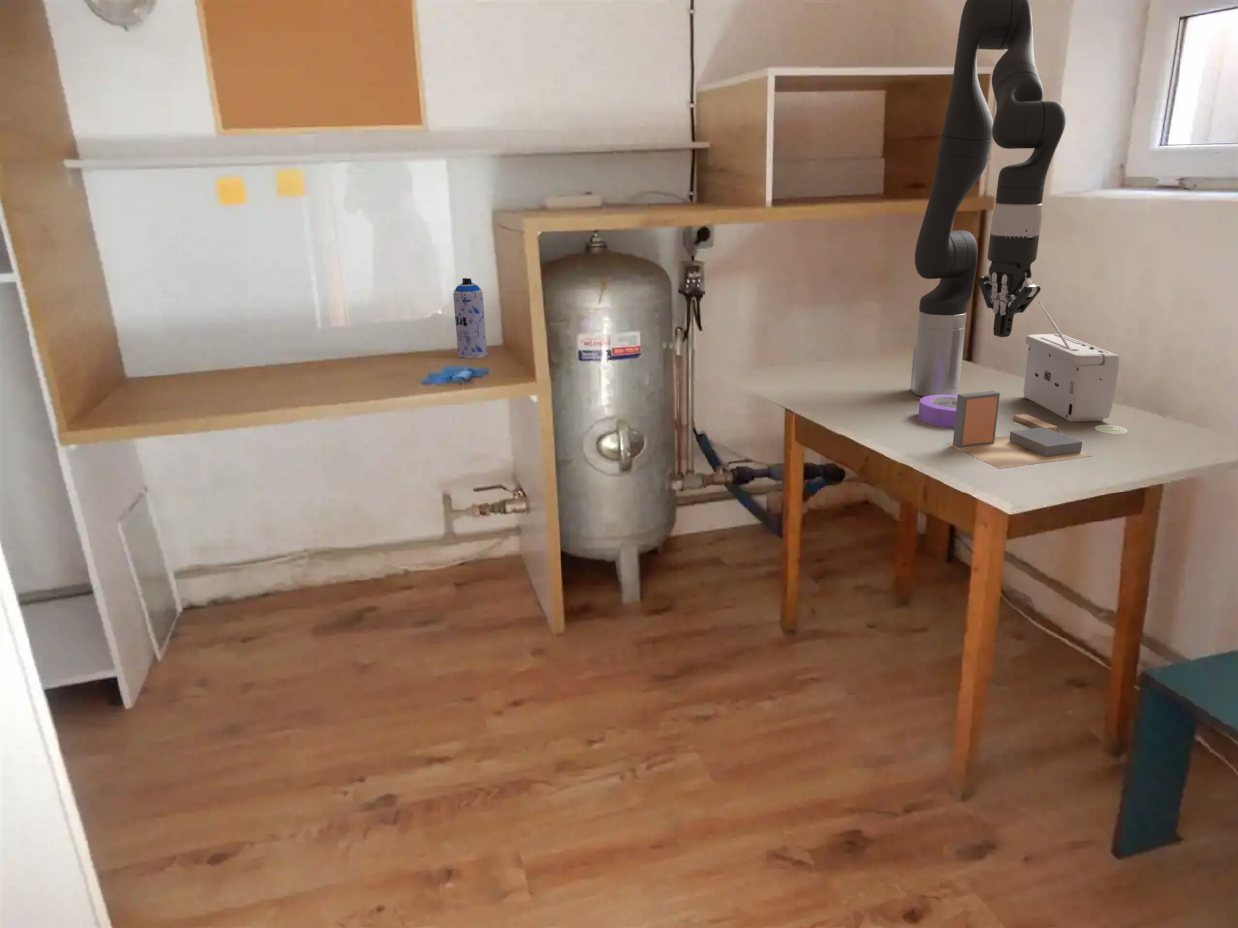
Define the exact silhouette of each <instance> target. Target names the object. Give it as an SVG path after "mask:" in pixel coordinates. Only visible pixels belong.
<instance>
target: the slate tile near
mask: <svg viewBox="0 0 1238 928" xmlns="http://www.w3.org/2000/svg"><path fill="white" fill-rule="evenodd" d="M1000 395H1001V393H1000V392H998V391H995V390H989V391H978V392H969V393H958V398H957V408H956V418H955V427H953V428H954V429H953V430H954V431H953V437H952V438H953V439H952V443H953V445H954V446H956V447H958V448H963V447H971V446H979V445H987V444H994V440H995V437H996V429H997V421H998V420H997V419H998V412H999V406H1000V405H999V404H1000Z"/></svg>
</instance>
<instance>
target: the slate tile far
mask: <svg viewBox="0 0 1238 928" xmlns="http://www.w3.org/2000/svg"><path fill="white" fill-rule="evenodd" d="M1009 436H1010V439H1009V441H1010V442H1012V443H1014V444H1017V445H1019V446H1021V447H1024V448H1026V449H1029V450H1031V451H1033V452H1036V453H1038V454H1040V455H1043V456H1045V457H1048V456H1055V455H1063V454H1071V453H1078V452H1082V447H1083V441H1081V440H1078V439H1077V438H1073V437H1071V436H1068V435H1065V434H1063V433H1060V432H1058V431H1057V432H1055V431H1053V430H1050V429H1048V428H1045V427H1042V428H1027V429H1020V430H1011V431H1010V432H1009Z"/></svg>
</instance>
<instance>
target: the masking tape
mask: <svg viewBox="0 0 1238 928" xmlns="http://www.w3.org/2000/svg"><path fill="white" fill-rule="evenodd" d="M957 398H958V395H930V396H926V397H923V396H922V397H921V398H920V400H919V406H918V414H917V415H918V416H917V418H918V419H919V420H920V421H922V422H924V423H927V424H930V425H934V426H938V427H946V428H955V418H956V408H957Z"/></svg>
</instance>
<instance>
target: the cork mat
mask: <svg viewBox="0 0 1238 928" xmlns="http://www.w3.org/2000/svg"><path fill="white" fill-rule="evenodd" d="M1009 439H1010V435H1003V436H995V440H994V444H987V445H979V446H971V447H963V448H958V447H956V446H954V445H953V442H948V443H946V445H948V446H951V447H953V448H955V449H956V450H959V451H961V452H962V453H966V454H967V455H970V456H972V457H974V458H976V459H978V460H981V461H983V462H984V463H986V464H989V465H991V466H992V467H995V468H998V469H1000V470H1001V469H1008V468H1015V467H1022V466H1023V467H1024V466H1030V465H1037V464H1044V463H1051V462H1058V461H1060V462H1061V461H1066V460H1067V461H1068V460H1074V459H1082V458H1090V457H1092V455H1091V454H1088V453H1085V452H1083V451H1081V452H1078V453H1071V454H1063V455H1055V456H1048V457H1045V456H1043V455H1040V454H1038V453H1036V452H1033V451H1031V450H1029V449H1026V448H1024V447H1021V446H1019V445H1017V444H1014V443H1012V442H1010V441H1009Z"/></svg>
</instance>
